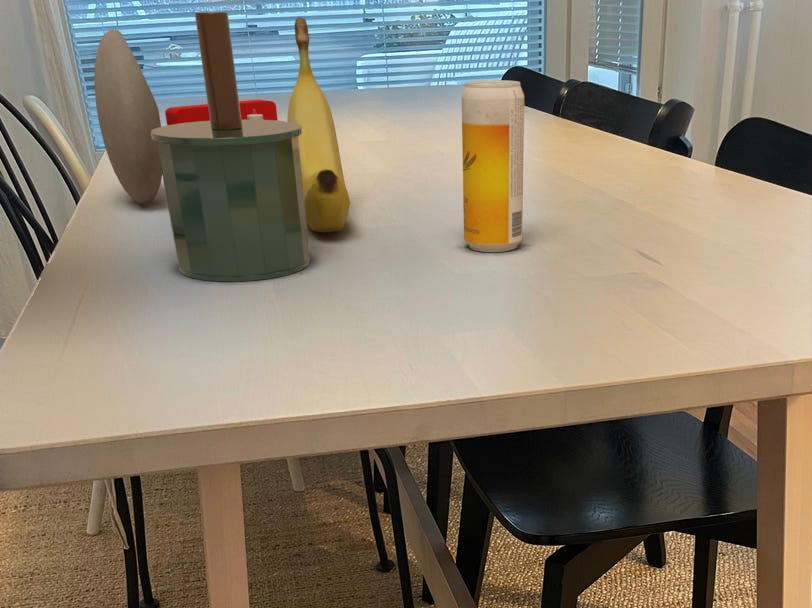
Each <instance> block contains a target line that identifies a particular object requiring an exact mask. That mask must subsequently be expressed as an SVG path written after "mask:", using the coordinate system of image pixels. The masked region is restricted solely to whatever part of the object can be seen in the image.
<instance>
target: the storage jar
mask: <svg viewBox="0 0 812 608" xmlns="http://www.w3.org/2000/svg"><path fill="white" fill-rule="evenodd" d="M157 146H158V151H159V157H160V163H161V169H162V180H163V185H164V192H165V198H166V203H167V209H168V215H169V219H170V220H169V222H170V226H171V232H172V237H173V244H174V250H175V255H176V261H177V265H178V270H179V272H180V274H181V275H184V276H186V277H187V278H191V279H196V280H201V281H208V282H230V283H231V282H251V281H253V282H254V281H260V280H261V281H262V280H269V279H275V278H280V277H284V276H289V275H292V274H295V273H298V272H300V271H303V270H304V269H306V268H307V267H308V266H309V264H310V258H311V256H310V245H309V244H310V243H309V233H308V223H307V222H306V213H305V203H304V194H303V184H302V174H301V164H300V154H299V144H298V137H295V138H291V139H287V140H282V141H275V142H267V143H258V144H245V145H225V146H188V145H173V144H165V143H159V142H157Z"/></svg>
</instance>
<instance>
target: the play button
mask: <svg viewBox="0 0 812 608" xmlns="http://www.w3.org/2000/svg"><path fill="white" fill-rule="evenodd" d="M239 105H240V113H241V120H248V119H247V115H252V114H261V115H263V120H276V121H279V120H278V111H277V110H278V109H277V104H276V103H275V102H274V101H272V100H266V99H247V100H239ZM253 110H254V112H253ZM255 111H256V112H255ZM164 115H165V120H166V126H167V125H173V124H180V123H189V122H200V121H210V116H209V109H208V103H202V104H192V105H181V106H179V105H178V106H171V107H167V108H166V109H165V111H164Z"/></svg>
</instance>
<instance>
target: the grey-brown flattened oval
mask: <svg viewBox="0 0 812 608" xmlns="http://www.w3.org/2000/svg"><path fill="white" fill-rule="evenodd" d="M134 55H135V54H134V53H133V52H132V49H131V48H130V46H129V44H128V42H127V40H126V38H125V37H124V35H123V34H122V32H121V31H120V30H118V29H109V30H107V31H106V32H105V33H104V34H103V35H102V37H101V38H100V40H99V43H98V46H97V50H96V55H95V63H94V73H93V75H94V76H93V84H94V95H95V96H94V97H95V98H94V99H95V107H96V114H97V119H98V120H97V121H98V124H99V130H100V133H101V138H102V141H103V144H104V148H105V151H106V154H107V158H108V160H109V162H110V164H111V165H110V166H112V169H113V171H114V174H115V176H116V178H117V180H118V182H119V183H120V185H121V187H122V188H123V190H124V191H125V192H126V194H127V196H129V197H130V199H132V200H133V201H135V202H136V203H137V204H140V205H149V204H150V203H152V202H153V201H154V200H155V198H156V197H157V195H158V193H159V191H160V187H161V183H162V180H163V175H162V169H161V163H160V157H159V151H158V146H157V142H156V141H153V140H152V138H151V131H152V130H153V129H155V128H158V127H162V122H161V116H160V111H159V106H158V105H157V102H156V99H155V97H154V94H153V92H152V90H151V88H150V86H149V84H148V81H147V79H146V77H145V76H144V72H143V71H142V69H141V67H140V65H139V63H138V61H137V58H136V57H135V56H134Z"/></svg>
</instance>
